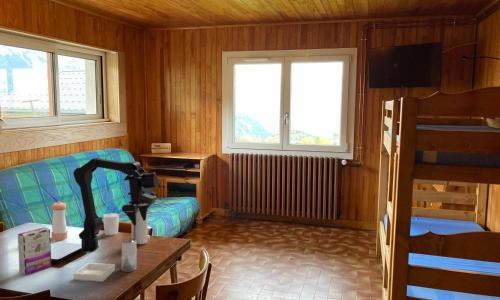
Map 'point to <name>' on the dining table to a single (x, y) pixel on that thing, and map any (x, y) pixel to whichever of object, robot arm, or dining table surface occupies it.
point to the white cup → (111, 223)
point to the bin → (94, 272)
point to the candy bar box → (34, 250)
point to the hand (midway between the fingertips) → (139, 222)
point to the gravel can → (129, 255)
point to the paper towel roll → (140, 229)
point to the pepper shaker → (58, 221)
